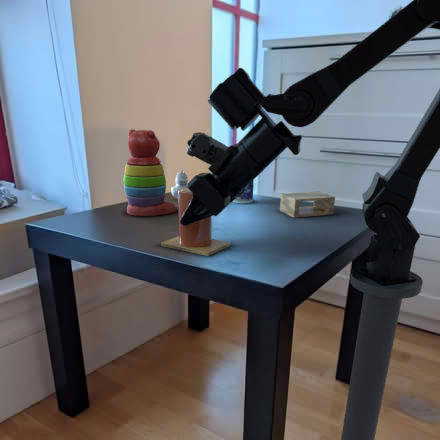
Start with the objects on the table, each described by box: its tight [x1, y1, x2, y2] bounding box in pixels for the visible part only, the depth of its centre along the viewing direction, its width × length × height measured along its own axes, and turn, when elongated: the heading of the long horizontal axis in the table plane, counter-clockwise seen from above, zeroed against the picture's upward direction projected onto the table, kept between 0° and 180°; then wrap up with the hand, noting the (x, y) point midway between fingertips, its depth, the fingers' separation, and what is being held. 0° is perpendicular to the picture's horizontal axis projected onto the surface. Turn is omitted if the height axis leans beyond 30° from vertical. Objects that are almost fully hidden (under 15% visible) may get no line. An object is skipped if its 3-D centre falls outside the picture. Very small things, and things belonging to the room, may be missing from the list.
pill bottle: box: [232, 179, 255, 205], centre depth 105 cm, size 5×5×10 cm
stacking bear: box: [123, 128, 177, 217], centre depth 93 cm, size 11×10×18 cm
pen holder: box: [177, 188, 213, 247], centre depth 71 cm, size 6×6×9 cm
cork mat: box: [160, 235, 232, 257], centre depth 73 cm, size 10×7×1 cm
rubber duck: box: [170, 168, 189, 200], centre depth 109 cm, size 5×7×8 cm
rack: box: [279, 190, 336, 219], centre depth 95 cm, size 7×10×4 cm
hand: (187, 219), depth 71 cm, fingers closed on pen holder, 5 cm apart
